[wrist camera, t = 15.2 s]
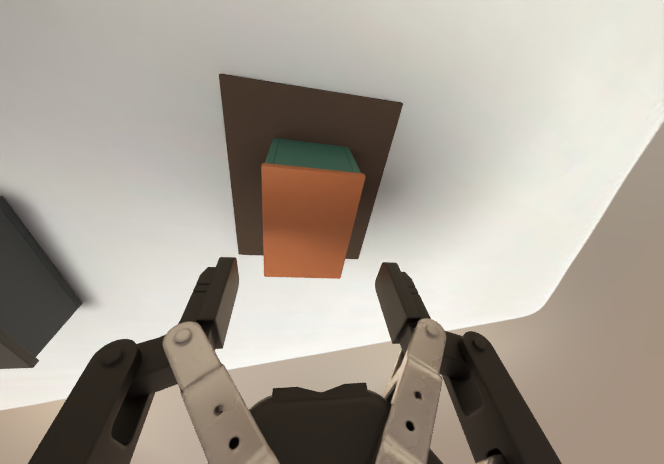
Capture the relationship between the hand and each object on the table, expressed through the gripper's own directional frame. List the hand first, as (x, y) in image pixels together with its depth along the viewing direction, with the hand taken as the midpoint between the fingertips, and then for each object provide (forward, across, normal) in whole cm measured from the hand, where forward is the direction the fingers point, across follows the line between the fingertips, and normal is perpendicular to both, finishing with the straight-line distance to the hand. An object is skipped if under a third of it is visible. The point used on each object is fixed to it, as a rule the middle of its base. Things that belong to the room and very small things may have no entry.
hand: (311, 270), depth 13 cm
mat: (+10, 0, 0) cm, 11 cm away
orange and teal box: (+10, 0, +1) cm, 10 cm away
